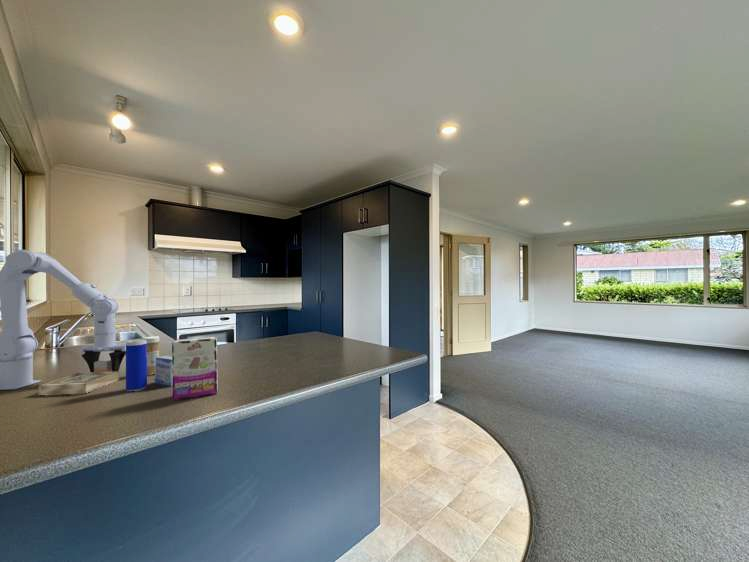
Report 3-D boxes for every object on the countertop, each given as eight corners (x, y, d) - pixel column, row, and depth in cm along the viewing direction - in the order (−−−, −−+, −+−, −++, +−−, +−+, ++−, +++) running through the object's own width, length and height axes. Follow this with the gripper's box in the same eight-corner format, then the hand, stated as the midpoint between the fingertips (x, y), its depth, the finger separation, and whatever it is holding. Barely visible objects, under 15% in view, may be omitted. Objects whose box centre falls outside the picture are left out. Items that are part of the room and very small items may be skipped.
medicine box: (154, 384, 99) (154, 357, 99) (168, 380, 103) (168, 354, 103) (171, 387, 96) (171, 359, 96) (184, 382, 100) (184, 356, 100)
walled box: (38, 395, 89) (38, 385, 89) (77, 381, 102) (77, 372, 102) (86, 393, 90) (86, 383, 90) (119, 380, 103) (119, 371, 103)
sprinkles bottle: (158, 371, 113) (158, 335, 113) (159, 374, 110) (159, 337, 110) (143, 373, 110) (143, 336, 111) (144, 376, 107) (144, 338, 107)
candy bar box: (218, 389, 93) (217, 335, 93) (217, 394, 89) (217, 338, 89) (174, 395, 88) (174, 338, 89) (171, 401, 84) (171, 341, 84)
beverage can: (150, 387, 95) (150, 339, 95) (133, 393, 90) (133, 342, 91) (139, 385, 97) (139, 338, 97) (121, 391, 92) (121, 341, 92)
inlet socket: (58, 390, 92) (58, 382, 92) (79, 382, 99) (79, 375, 99) (84, 389, 93) (84, 381, 93) (103, 382, 100) (103, 374, 100)
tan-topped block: (94, 379, 104) (94, 362, 104) (103, 376, 108) (103, 359, 108) (106, 379, 105) (106, 361, 105) (115, 375, 109) (115, 359, 109)
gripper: (72, 335, 102) (72, 376, 102) (118, 334, 103) (118, 374, 103) (90, 332, 109) (90, 370, 109) (133, 331, 110) (133, 368, 110)
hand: (104, 372), depth 106 cm, fingers open, 6 cm apart
